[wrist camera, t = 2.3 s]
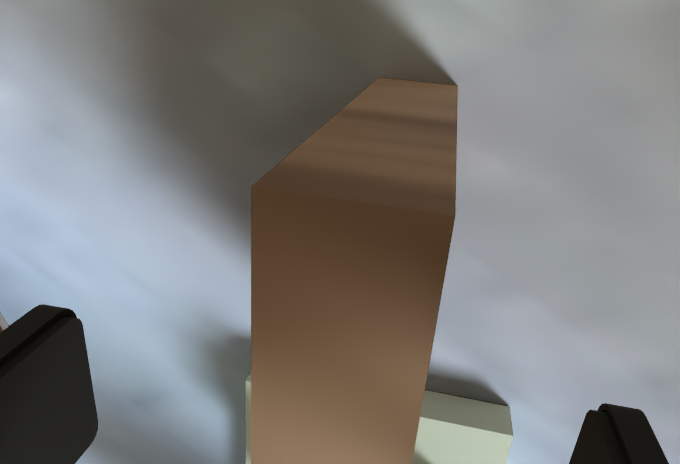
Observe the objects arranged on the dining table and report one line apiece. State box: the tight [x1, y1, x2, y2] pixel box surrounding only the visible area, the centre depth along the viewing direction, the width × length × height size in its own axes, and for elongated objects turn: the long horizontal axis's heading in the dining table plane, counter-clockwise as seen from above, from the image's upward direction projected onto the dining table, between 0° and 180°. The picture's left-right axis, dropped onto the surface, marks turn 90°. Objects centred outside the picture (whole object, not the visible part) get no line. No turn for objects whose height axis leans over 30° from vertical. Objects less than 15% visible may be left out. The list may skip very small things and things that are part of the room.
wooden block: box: [251, 78, 458, 464], centre depth 13 cm, size 10×3×11 cm, turn 176°
